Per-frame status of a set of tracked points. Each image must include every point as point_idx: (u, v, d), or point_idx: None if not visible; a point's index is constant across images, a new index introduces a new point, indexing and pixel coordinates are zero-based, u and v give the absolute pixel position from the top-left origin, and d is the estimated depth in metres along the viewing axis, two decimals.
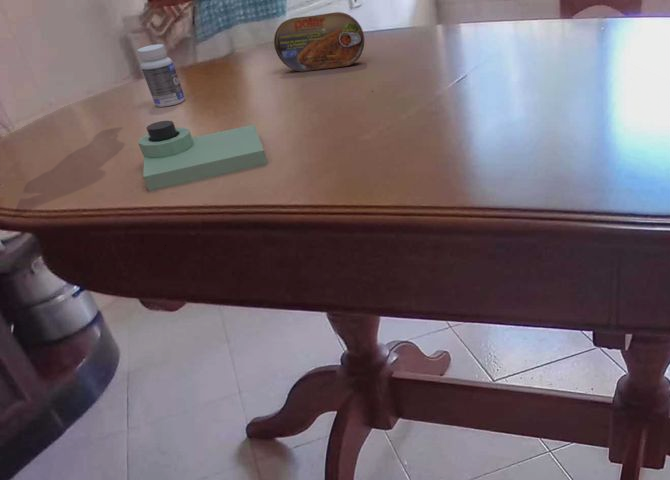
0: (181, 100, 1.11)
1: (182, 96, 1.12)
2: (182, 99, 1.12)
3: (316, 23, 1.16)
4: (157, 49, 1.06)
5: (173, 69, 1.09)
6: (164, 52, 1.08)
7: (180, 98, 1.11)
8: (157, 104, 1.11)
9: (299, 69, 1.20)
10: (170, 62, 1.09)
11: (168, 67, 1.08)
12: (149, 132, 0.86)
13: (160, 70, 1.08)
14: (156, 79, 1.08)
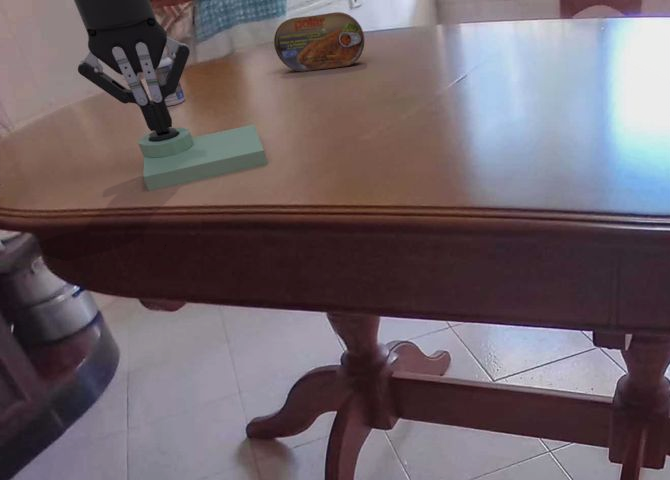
0: (181, 100, 1.11)
1: (182, 96, 1.12)
2: (182, 99, 1.12)
3: (316, 23, 1.16)
4: None
5: None
6: (164, 52, 1.08)
7: (180, 98, 1.11)
8: None
9: (299, 69, 1.20)
10: (170, 62, 1.09)
11: (168, 67, 1.08)
12: (152, 139, 0.86)
13: (160, 70, 1.08)
14: None
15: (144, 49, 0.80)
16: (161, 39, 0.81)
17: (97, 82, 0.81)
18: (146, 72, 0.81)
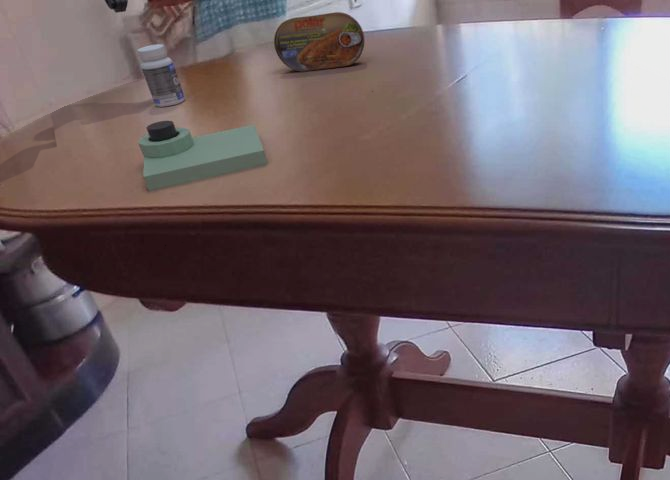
0: (181, 100, 1.11)
1: (182, 96, 1.12)
2: (182, 99, 1.12)
3: (316, 23, 1.16)
4: (157, 49, 1.06)
5: (173, 69, 1.09)
6: (164, 52, 1.08)
7: (180, 98, 1.11)
8: (157, 104, 1.11)
9: (299, 69, 1.20)
10: (170, 62, 1.09)
11: (168, 67, 1.08)
12: (149, 132, 0.86)
13: (160, 70, 1.08)
14: (156, 79, 1.08)
15: None
16: None
17: None
18: None
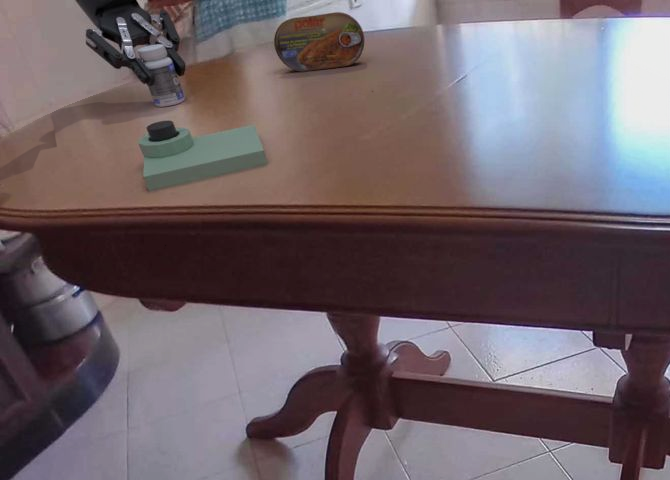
0: (181, 100, 1.11)
1: (182, 96, 1.12)
2: (182, 99, 1.12)
3: (316, 23, 1.16)
4: (157, 49, 1.06)
5: (173, 69, 1.09)
6: (164, 52, 1.08)
7: (180, 98, 1.11)
8: (157, 104, 1.11)
9: (299, 69, 1.20)
10: (170, 62, 1.09)
11: (168, 67, 1.08)
12: (149, 132, 0.86)
13: (160, 70, 1.08)
14: (156, 79, 1.08)
15: (138, 16, 1.08)
16: (147, 14, 1.10)
17: (99, 41, 1.04)
18: (150, 29, 1.08)
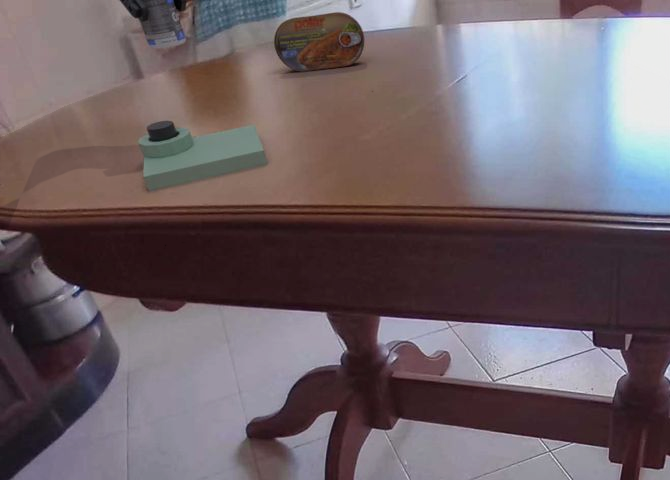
0: (181, 41, 0.90)
1: (183, 37, 0.91)
2: (183, 40, 0.91)
3: (316, 23, 1.16)
4: None
5: (172, 2, 0.88)
6: None
7: (180, 39, 0.90)
8: (152, 46, 0.90)
9: (299, 69, 1.20)
10: None
11: None
12: (149, 132, 0.86)
13: (156, 2, 0.87)
14: (151, 12, 0.87)
15: None
16: None
17: None
18: None
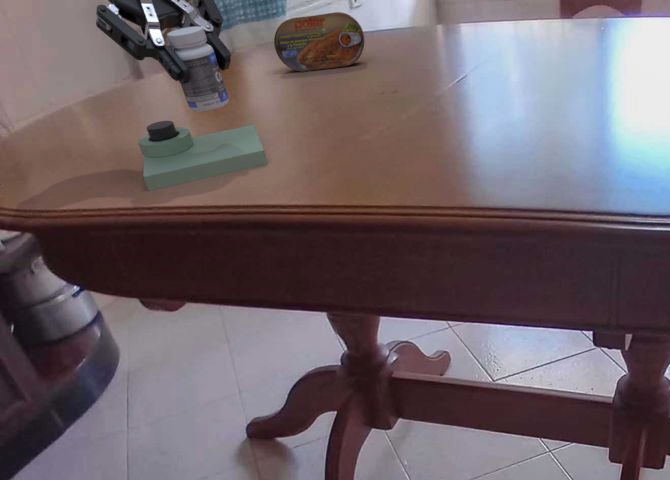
0: (225, 103, 0.82)
1: (226, 97, 0.83)
2: (226, 101, 0.83)
3: (316, 23, 1.16)
4: (194, 33, 0.77)
5: (215, 60, 0.80)
6: (203, 37, 0.79)
7: (223, 100, 0.82)
8: (193, 108, 0.82)
9: (299, 69, 1.20)
10: (211, 51, 0.80)
11: (209, 58, 0.79)
12: (149, 132, 0.86)
13: (198, 62, 0.79)
14: (193, 74, 0.79)
15: None
16: None
17: (114, 21, 0.75)
18: (183, 6, 0.79)
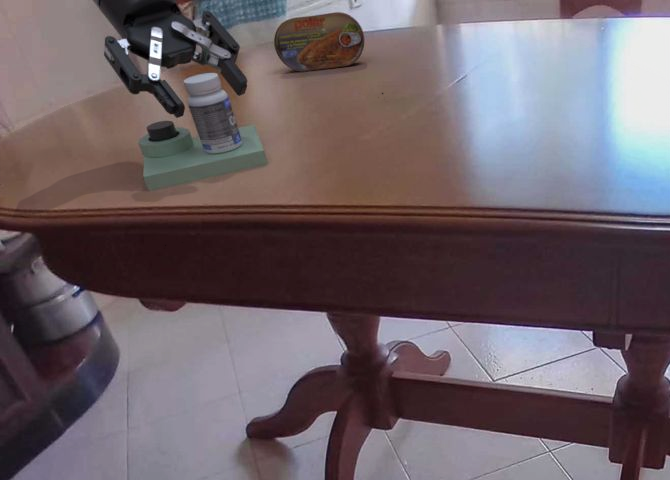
0: (238, 145, 0.86)
1: (239, 139, 0.86)
2: (239, 143, 0.86)
3: (316, 23, 1.16)
4: (210, 80, 0.81)
5: (229, 105, 0.83)
6: (218, 84, 0.82)
7: (237, 142, 0.85)
8: (207, 150, 0.85)
9: (299, 69, 1.20)
10: (225, 96, 0.83)
11: (223, 103, 0.82)
12: (149, 132, 0.86)
13: (213, 108, 0.82)
14: (208, 118, 0.82)
15: (179, 26, 0.81)
16: (191, 23, 0.83)
17: (117, 53, 0.77)
18: (199, 40, 0.82)
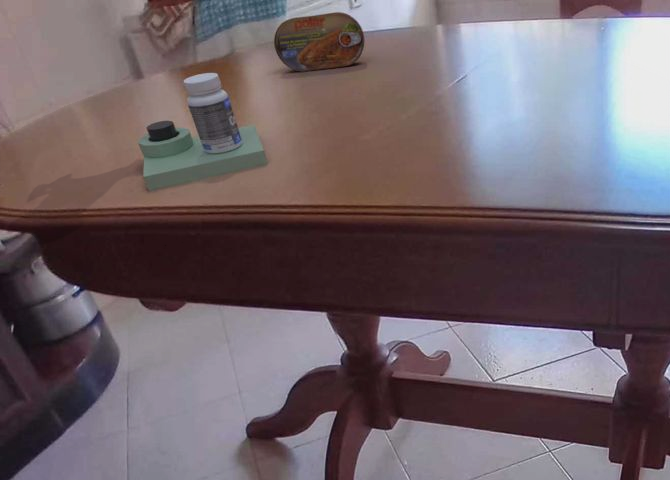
0: (238, 145, 0.86)
1: (239, 139, 0.86)
2: (239, 143, 0.86)
3: (316, 23, 1.16)
4: (210, 80, 0.81)
5: (229, 105, 0.83)
6: (218, 84, 0.82)
7: (237, 142, 0.85)
8: (207, 150, 0.85)
9: (299, 69, 1.20)
10: (225, 96, 0.83)
11: (223, 104, 0.82)
12: (149, 132, 0.86)
13: (213, 108, 0.82)
14: (208, 119, 0.82)
15: None
16: None
17: None
18: None
